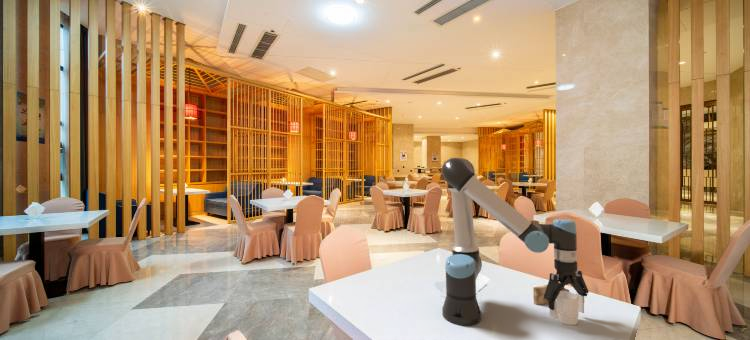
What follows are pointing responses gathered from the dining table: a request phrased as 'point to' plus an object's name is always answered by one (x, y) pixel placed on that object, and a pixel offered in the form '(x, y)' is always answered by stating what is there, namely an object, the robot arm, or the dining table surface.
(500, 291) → the dining table surface
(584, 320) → the dining table surface
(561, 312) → the white cup
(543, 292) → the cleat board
